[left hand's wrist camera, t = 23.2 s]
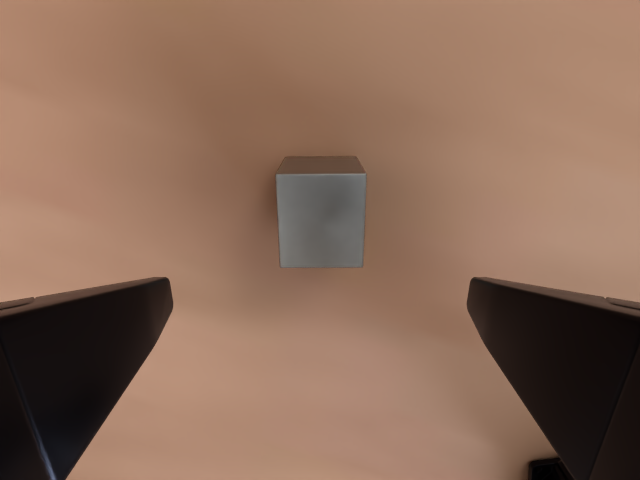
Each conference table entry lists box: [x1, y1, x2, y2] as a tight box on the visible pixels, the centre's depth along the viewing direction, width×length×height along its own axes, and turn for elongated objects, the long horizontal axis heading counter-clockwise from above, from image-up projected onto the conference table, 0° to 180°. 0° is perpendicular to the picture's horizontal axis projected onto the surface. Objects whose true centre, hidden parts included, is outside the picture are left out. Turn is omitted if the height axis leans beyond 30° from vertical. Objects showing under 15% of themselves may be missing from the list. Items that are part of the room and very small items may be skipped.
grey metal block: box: [275, 157, 367, 268], centre depth 20 cm, size 5×4×5 cm
